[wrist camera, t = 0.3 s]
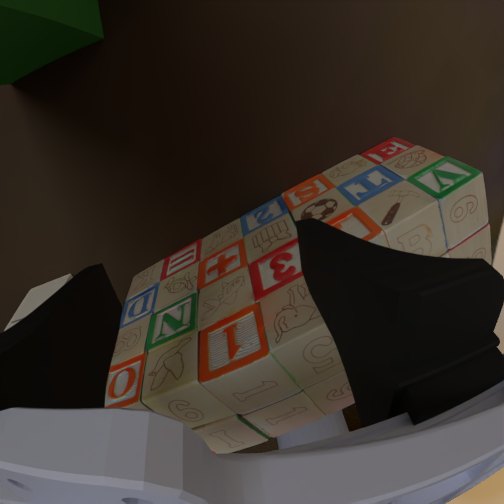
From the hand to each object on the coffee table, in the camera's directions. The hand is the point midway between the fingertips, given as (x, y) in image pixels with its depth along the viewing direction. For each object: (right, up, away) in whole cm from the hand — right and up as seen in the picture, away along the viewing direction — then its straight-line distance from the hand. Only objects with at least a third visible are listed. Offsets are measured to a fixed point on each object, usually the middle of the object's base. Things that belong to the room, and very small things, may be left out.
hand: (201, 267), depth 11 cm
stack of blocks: (+4, +2, +12) cm, 12 cm away
